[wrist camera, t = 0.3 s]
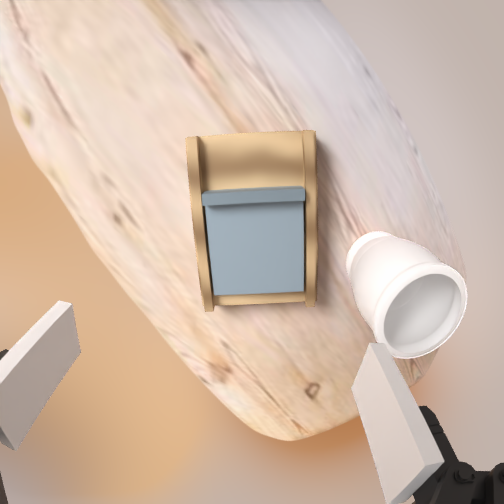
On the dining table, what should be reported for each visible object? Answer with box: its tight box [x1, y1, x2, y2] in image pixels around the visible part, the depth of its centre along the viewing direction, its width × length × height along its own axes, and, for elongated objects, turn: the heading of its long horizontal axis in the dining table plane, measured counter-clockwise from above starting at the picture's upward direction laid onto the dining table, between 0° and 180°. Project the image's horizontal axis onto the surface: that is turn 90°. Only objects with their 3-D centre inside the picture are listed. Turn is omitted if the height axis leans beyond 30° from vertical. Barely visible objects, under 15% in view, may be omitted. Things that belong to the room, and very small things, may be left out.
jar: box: [346, 231, 468, 359], centre depth 33 cm, size 11×10×15 cm
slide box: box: [185, 130, 318, 312], centre depth 36 cm, size 20×14×5 cm
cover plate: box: [202, 186, 305, 295], centre depth 35 cm, size 12×10×3 cm
